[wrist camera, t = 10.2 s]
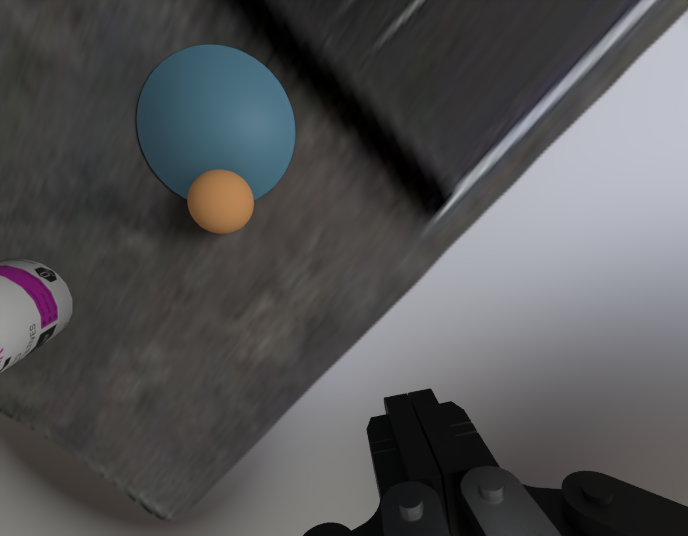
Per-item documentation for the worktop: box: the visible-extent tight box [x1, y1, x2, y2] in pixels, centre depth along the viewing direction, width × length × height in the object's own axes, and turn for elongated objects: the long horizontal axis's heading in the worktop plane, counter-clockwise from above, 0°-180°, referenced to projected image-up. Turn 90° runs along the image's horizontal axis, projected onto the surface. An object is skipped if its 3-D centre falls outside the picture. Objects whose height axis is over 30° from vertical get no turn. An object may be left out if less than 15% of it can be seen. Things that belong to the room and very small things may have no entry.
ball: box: [187, 169, 254, 234], centre depth 36 cm, size 6×6×6 cm
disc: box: [137, 45, 295, 200], centre depth 37 cm, size 14×14×1 cm
